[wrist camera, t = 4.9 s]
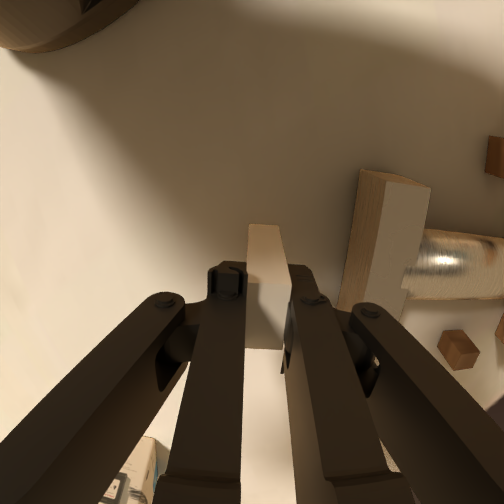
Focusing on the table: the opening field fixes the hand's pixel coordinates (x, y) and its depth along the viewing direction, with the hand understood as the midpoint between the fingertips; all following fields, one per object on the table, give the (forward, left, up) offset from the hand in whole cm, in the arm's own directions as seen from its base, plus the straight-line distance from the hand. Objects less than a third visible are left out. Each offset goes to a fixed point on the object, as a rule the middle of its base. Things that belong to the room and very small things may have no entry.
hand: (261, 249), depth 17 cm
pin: (+15, 0, -1) cm, 15 cm away
